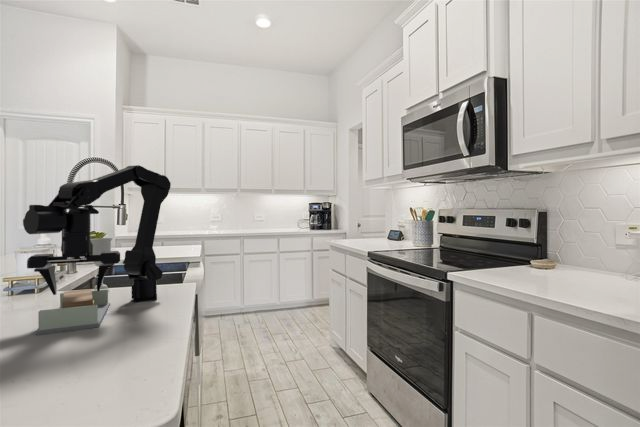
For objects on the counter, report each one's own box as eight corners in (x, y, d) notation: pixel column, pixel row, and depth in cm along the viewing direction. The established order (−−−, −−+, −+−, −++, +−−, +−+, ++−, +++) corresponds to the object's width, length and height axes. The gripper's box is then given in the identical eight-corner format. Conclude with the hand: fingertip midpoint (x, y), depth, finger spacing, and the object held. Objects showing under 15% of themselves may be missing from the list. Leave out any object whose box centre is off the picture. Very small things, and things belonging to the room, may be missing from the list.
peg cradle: (110, 305, 98) (110, 288, 98) (99, 326, 80) (99, 305, 80) (59, 310, 93) (59, 292, 93) (35, 334, 75) (35, 312, 75)
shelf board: (92, 311, 83) (92, 299, 83) (62, 316, 79) (62, 303, 79) (91, 299, 94) (91, 288, 94) (64, 302, 90) (64, 291, 90)
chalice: (96, 289, 117) (96, 238, 117) (116, 289, 118) (116, 238, 118) (83, 294, 110) (83, 240, 110) (105, 294, 111) (105, 239, 110)
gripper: (122, 229, 97) (122, 283, 98) (40, 231, 89) (41, 289, 89) (117, 231, 87) (118, 291, 88) (26, 233, 79) (26, 299, 79)
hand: (77, 292), depth 86 cm, fingers open, 9 cm apart
